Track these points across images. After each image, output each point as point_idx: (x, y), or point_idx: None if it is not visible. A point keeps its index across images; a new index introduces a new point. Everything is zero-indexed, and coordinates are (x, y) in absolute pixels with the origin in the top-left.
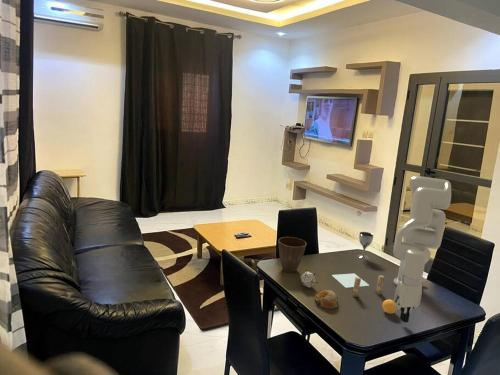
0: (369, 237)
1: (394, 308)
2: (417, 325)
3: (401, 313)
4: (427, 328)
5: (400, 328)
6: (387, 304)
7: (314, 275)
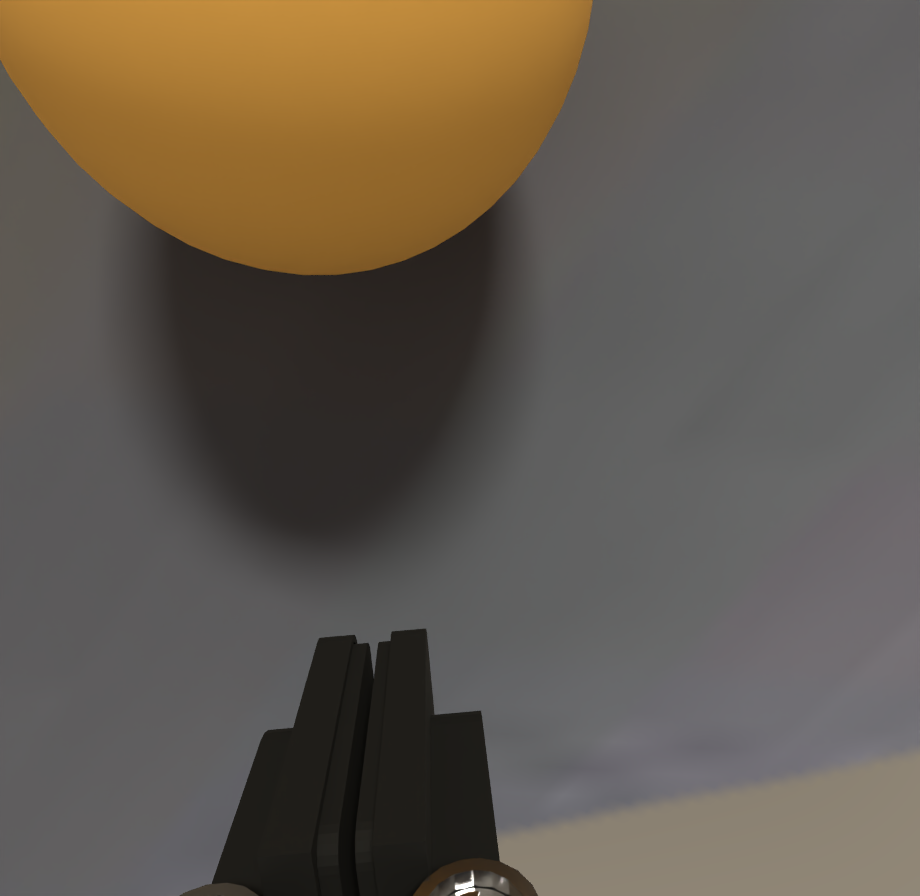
0: None
1: (342, 266)
2: (716, 667)
3: (229, 876)
4: (840, 767)
5: (259, 728)
6: (5, 50)
7: None
